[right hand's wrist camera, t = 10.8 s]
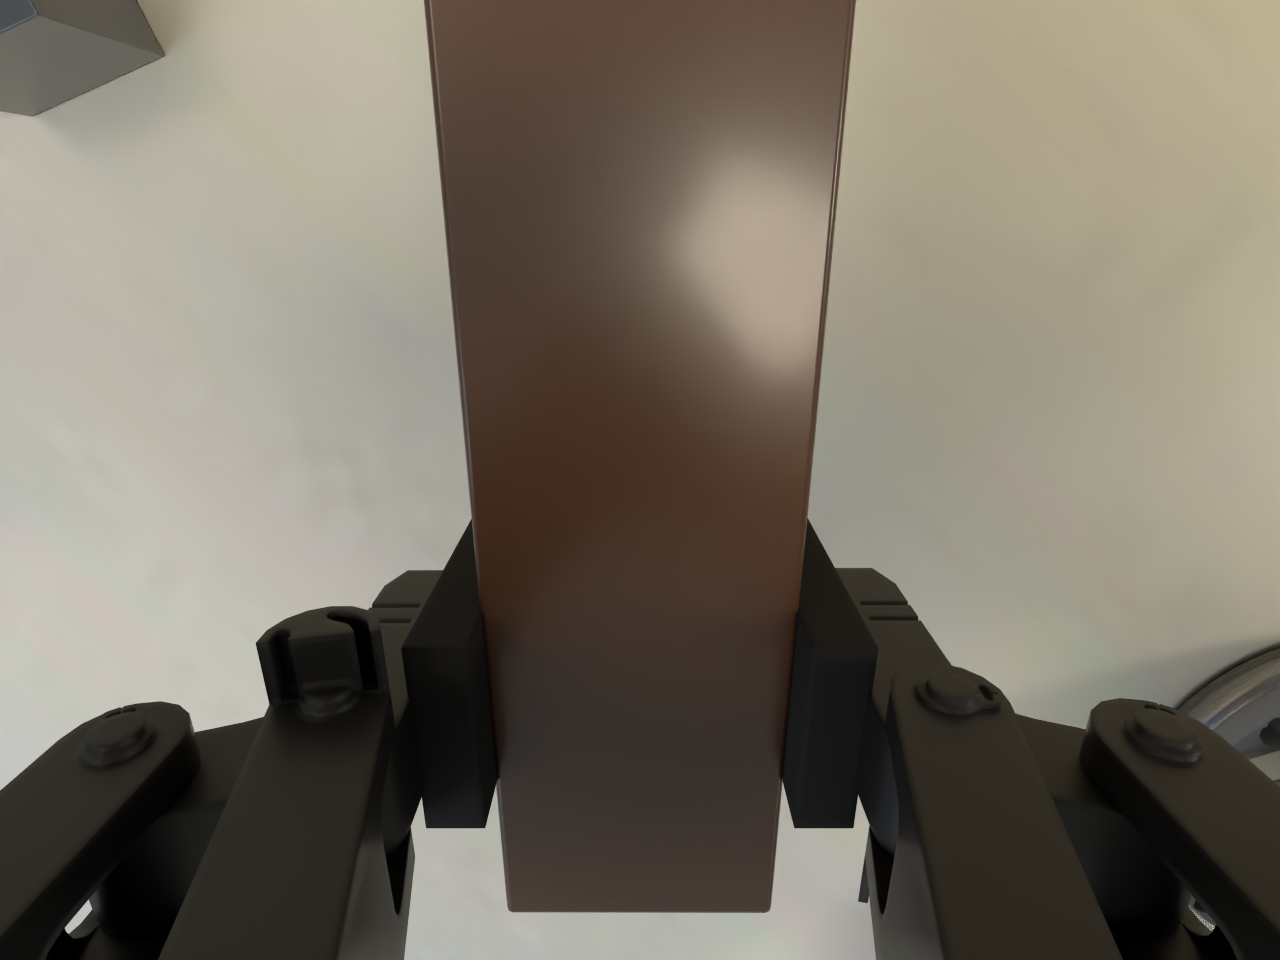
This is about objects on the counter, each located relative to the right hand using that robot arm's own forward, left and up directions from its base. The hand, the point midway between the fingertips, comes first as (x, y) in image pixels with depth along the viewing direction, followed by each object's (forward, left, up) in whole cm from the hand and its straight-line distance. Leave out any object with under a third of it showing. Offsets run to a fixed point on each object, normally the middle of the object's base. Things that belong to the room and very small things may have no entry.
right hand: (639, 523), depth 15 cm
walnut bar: (0, -12, 0) cm, 12 cm away
